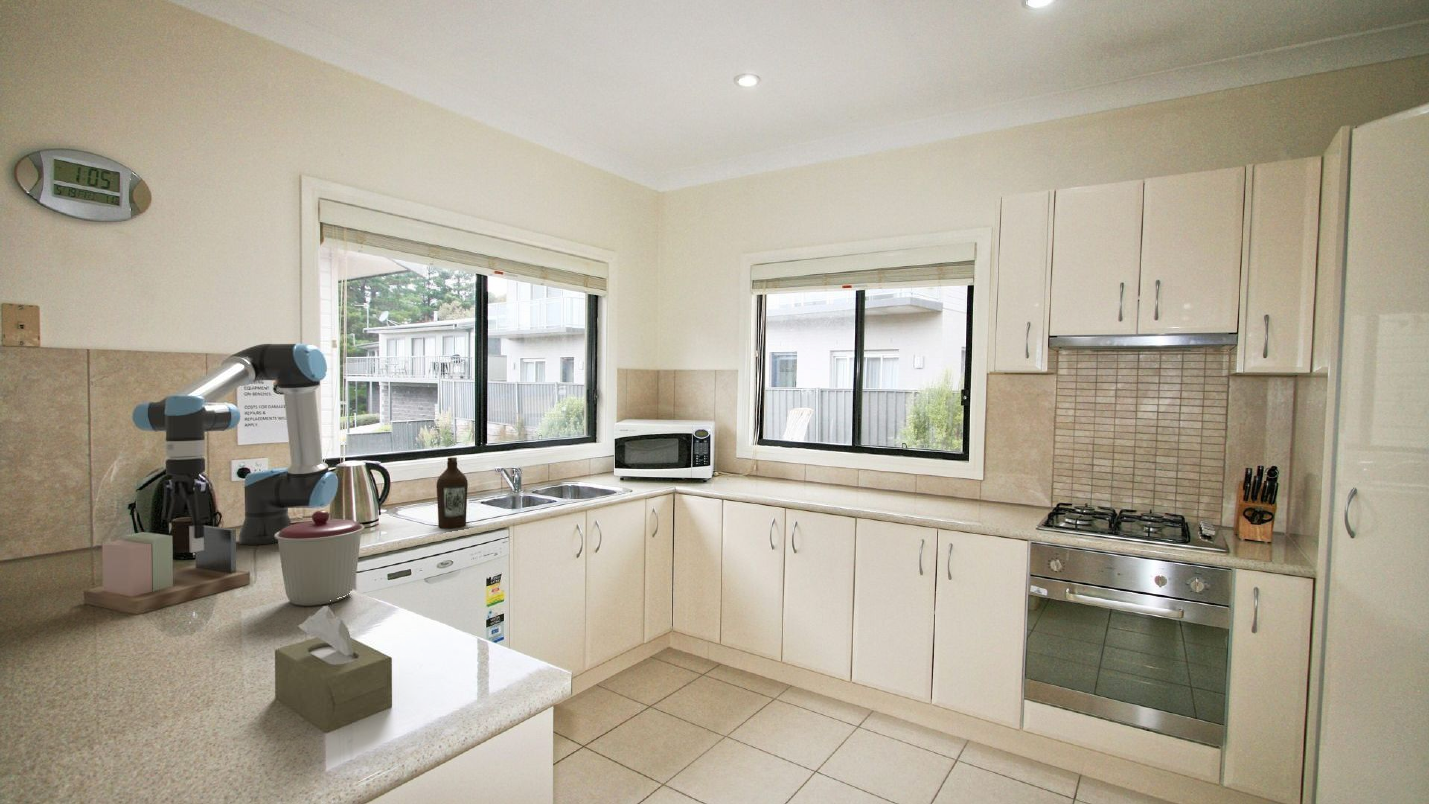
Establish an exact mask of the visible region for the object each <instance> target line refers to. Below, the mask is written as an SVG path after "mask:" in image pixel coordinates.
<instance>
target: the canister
mask: <svg viewBox="0 0 1429 804" xmlns="http://www.w3.org/2000/svg"><path fill="white" fill-rule="evenodd" d="M311 519H312V520H308V521H307V520H306V521H302V522H298V523H294V524H292V525H290V526H287V527H285V528H283V529H282V530H281V531H279V532H277V533H276V534H275V535H274V537H275V538H276V539H278V542H277V543H278V551H279V558H280V564H281V565H280V566H281V572H282V573H281V574H282V580H283V584H284V590H285V595H286V597H287V599H288V600H289V602H291V604H293V605H298V606H302V607H305V606H306V607H311V606H321V605H323V606H324V605H326V604H327V605H328V604H331V603H335V602H338V601H341V600H343V599H346V598H347V597H348V596H349V595H350V594H351V593H350V591H352V592H353V590H354V588H355V585H356V578H357V571H358V566H359V565H358V564H359V556H360V555H359V554H360V547H361V538H362V531H364V529H365V526H364V525H363V524H362V523H359V522H357V521H355V520H353V519H352V520H351V519H343V518H330V513H329V512H328V511H326V510H317V511H315V512H313V513H312V515H311ZM349 593H350V594H349ZM347 594H348V595H347ZM345 595H346V596H345ZM343 596H345V597H343ZM339 597H342V598H339ZM337 598H339V599H337ZM330 600H331V601H330Z"/></svg>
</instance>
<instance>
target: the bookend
mask: <svg viewBox="0 0 1429 804" xmlns="http://www.w3.org/2000/svg"><path fill="white" fill-rule="evenodd" d="M204 537H205V538H204V550H202V551H197V552H194V553H195V565H196V568H199V569H206V570H212V571H218V572H224V573H230V574H232V573H236V570H237V528H236V529H234V528H227V527H220V526H211V525H204Z"/></svg>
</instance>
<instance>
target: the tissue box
mask: <svg viewBox="0 0 1429 804" xmlns="http://www.w3.org/2000/svg"><path fill="white" fill-rule="evenodd" d="M298 628H300V629H301V630H302V631H303V632H305V633H306V634H308V635H309V636H311V637H313V638H311V639H307V640H302V641H300V642H296V643H292V644H289V645H286V646H282V647H279V648H276V649H275V650H274V679H275V680H274V689H275V690H274V694H275V695H274V698H275V699H276V700H278V701H280V702H281V703H282V704H283V705H285V706H286V707H287V708H289V709H291V710H292V711H294V712H295V713H296V714H298V715H299V716H301V717H302V718H303V719H304V720H306V721H308V722H309V723H310V724H311V725H313V726H315V727H316V728H317V729H319V730H320V731H322V732H323V733H325V734H329V733H330V732H333V731H335V730H338V729H340V728H342V727H345V726H348V725H351V724H353V723H355V722H358V721H360V720H363V719H365V718H368V717H370V716H373V715H375V714H378V713H380V712H382V711H385V710H388V709H390V708H392V707H393V657H391V656H389V655H387V654H385V653H383V652H382V651H379V650H377V649H375V648H373V647H371V646H369V645H367V644H364V643H362V642H361V641H359V640H357V639H355V638H352V637H351V635H350V631H349V628H348V627H347V625H346V624H345V622H344V620H342V618H341V617H340V616H337V617H336V615H335V614H334V612H333V611H332V610H331V609H330V606H328V605H325V606H324V605H323V606H322V607H320V609H318V610H317V611H316V612H315V613H314V614H312V615H310V616H309V617H307V618H306V620H304V621H303V622H302V623H301V624H299V625H298Z"/></svg>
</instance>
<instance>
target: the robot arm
mask: <svg viewBox="0 0 1429 804" xmlns="http://www.w3.org/2000/svg"><path fill="white" fill-rule="evenodd" d="M327 370H328V365H327V360H326V357H325V355H324V353H323V352H322V351H321V350H320V349H319V347H317V346H315V345H313V344H304V343H262V344H257V345H253V346H250V347H248V348H245V349H242V350H240V351H238V352H236V353H234V354H232V355H230V356H228V357H227V358H225V359H223V360H222V363H221V365H220V366H218V367H216V368H215V369H213V370H211V371H210V372H208V373H206V374H204V375H202V376H201V377H199V378H197V379H196V380H194V381H192V382H191V383H189V384H187V385H185V386H184V387H182V388H180V389H178V390H177V391H175V392H173V393H172V394H169V395H168V396H166V397H164V398H162V399H161V400H159V401H156V402H155V401H149V402H141V403H139V404H137V405H136V406H135V408H134V409H133V410H132V415H131V417H132V421H133V423H134V426H135V427H136V428H137V429H138V430H141V431H147V432H149V431H150V432H165V446H164V449H165V457H167V458H168V459H166V460H165V473H166V475H170V476H171V479H166V480H163V481H162V485H163V500H162V513H161V514H162V515H161V518H162V520H163V521H164V520H166V522H167V523H168V531H169V532H168V534H169V533H170V531H171V528H172V525H171V523H172V520H173V519H176V518H183V517H182V516H183V513H184V512H183V511H184V508H185V504H186V505H187V510H188V513H189V517H190V518H191V522H192V523H191V524H189V545H190V552H189V553H190V554H191V553H195V552H197V551H202V550H204V526H205V525H206V523H210V522H211V519H212V518H211V510H210V509H211V508H210V496H209V487H210V483H209V482H208V481H204V482H203V481H202V480H201V478H200V474H202V473H204V472H205V471H206V458H204V456H205V455H206V438H205V434H206V432H218V431H219V432H224V431H227V430H231V429H235V427H237V425H238V424H239V423H240V420H241V412H240V409H239V408H238V407H237V405H235V404H234V403H230V402H224V401H221V402H220V401H219V400H221V399H222V398H223V397H225V396H227V395H229V394H230V393H231V392H233V391H234V390H236V389H238V388H239V387H241V386H242V387H244V386H248V385H250V384H252V383H254V382H260V381H276V387H277V389H279V390H280V391H281V392H283V399H284V407H285V417H286V428H287V436H288V444H289V445H288V446H289V455H290V461H291V462H290V465H289V467H288V468H287V467H280V468H273V469H266V470H265V469H264V470H258V471H254V472H249V473H247V474H246V476H245V477H244V486H243V489H244V520H243V523H242V525H241V528H240V530H239V534H238V536H237V539H238V540H237V541H238V544H240V545H245V546H246V545H248V546H249V545H250V546H251V545H253V546H255V545H256V546H257V545H259V546H260V545H268V544H275V543H278V539H276V538H275V537H274V535H275V534H276V533H277V532H279V531H281V530H282V529H283V528H285V527H287V526H290V525H293V524H292V521H291V518H290V517H289V509H305V508H306V509H316V508H319V509H320V508H325V507H328V506H329V505H330V504H331V503H332V502H333V501H334V499H335V497H336V494H337V491H338V487H339V479H338V476H337V474H336V473H335V472H332V471H330V470H329V469H330V468H329V465H328V464H327V463H326V462H324V461H323V455H322V454H323V453H322V444H321V434H320V425H319V416H318V415H319V414H318V413H319V412H318V404H317V403H318V402H317V394H316V391H317V389H318V388H319V386H321V382H320V381H323V380H324V379H325V378H326V376H327V373H326V372H328V371H327ZM217 401H218V402H217Z"/></svg>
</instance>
